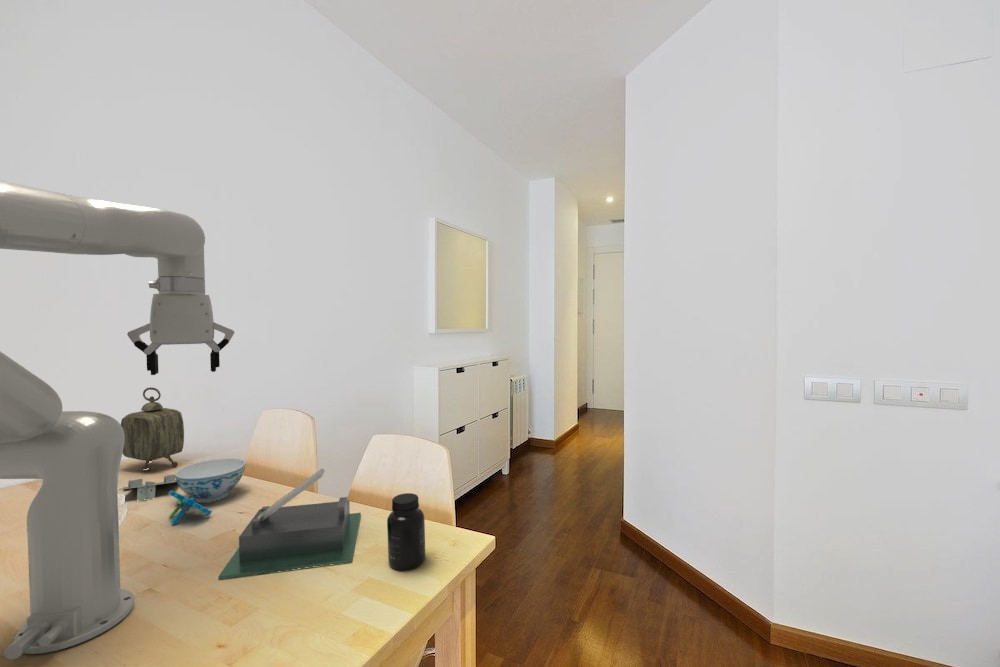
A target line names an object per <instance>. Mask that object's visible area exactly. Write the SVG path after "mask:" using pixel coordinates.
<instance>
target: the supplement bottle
mask: <svg viewBox="0 0 1000 667" xmlns="http://www.w3.org/2000/svg"><path fill="white" fill-rule="evenodd" d="M419 507H420V503H419V495H418V494H415V493H401V494H397V495H396V496H394V497H393V498H392V500H391V512H390V513H389V515H388V516H387V518H386V519H387V520H386V521H387V522H386V530H387V532H386V533H387V534H386V535H387V559H388V564H389V566H390V567H391V568H392V569H393V570H395V571H400V572H401V571H410V570H414V569H416V568H418V567H419V566H421V565H422V564H423V563H424V562H425V559H426V532H425V531H426V529H425V528H426V527H425V526H426V524H425V513H424V511H423V510H422V509H421V508H419Z"/></svg>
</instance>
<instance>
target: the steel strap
mask: <svg viewBox="0 0 1000 667" xmlns="http://www.w3.org/2000/svg"><path fill="white" fill-rule="evenodd" d="M325 471H326V470H324V468H323V467H322V468H321V469H319V470H318V471H316V472H315V473H314V474H312V475H311V476H309V478H307V479H305V480H304V481H303V482H302V483H300V484H299V485H298V486H296V487H295V488H293V489H292V490H291V491H289V492H288V493H286V494H285V495H284V496H282V497H281V498H280V499H278V500H277V501H276V502H273V504H272V505H269V508H267V509H266V510H265V511H263V512H262V513H261V514H260V515H259V517H258V518H261V522H262V521H263V520H264V519H266V518H267V517H269V516H270V515H271V514H273V513H274V512H275V511H277V510H278V509H279V508H281V507H284V506H285V505H287V503H289V502H290V501H291V500H293V499H294V498H296V497H297V496H298V495H300V494H301V493H302V492H304V491H305V490H306V489H308V488H309V487H310V486H312V485H313V484H314V483H316V482H317V481H318V480H320V479H321V478H322V477H323V476H324V473H325ZM258 518H257V519H258Z"/></svg>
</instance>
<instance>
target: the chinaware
mask: <svg viewBox="0 0 1000 667" xmlns="http://www.w3.org/2000/svg"><path fill="white" fill-rule="evenodd" d="M245 469H246V460H244V459H241V458H237V457H235V458H234V457H232V458H231V457H226V458H224V457H223V458H215V459H214V458H213V459H210V460H204V461H199V462H195V463H192V464H191V463H190V464H188V465H185V466H183V467H180V468H179V469H178V470H176V471H175V472H174V475H175V480H176V481H177V482H176V483H177V485H178V487H179V488H180V489H181V491H183V493H185V494H186V495H187V496H190V497H191V498H194V499H196V500H195V502H197V501H198V502H197V503H201V502H206V503H212V501H213V502H217V501H220V500H222V498H223V499H225V498H226V497H228V494H229V492H230V491H232V490H233V489H234V488H235V487H236V486H237V485H238V483H239V482H240V480H241V479H242V477H243V475H244V472H245ZM224 497H225V498H224ZM216 500H217V501H216Z"/></svg>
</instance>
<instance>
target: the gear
mask: <svg viewBox="0 0 1000 667" xmlns="http://www.w3.org/2000/svg"><path fill="white" fill-rule="evenodd" d="M167 494H168V495H169V496H172V497H173V498H175V499H176V502H177V503H176V504H175V509H174V510H173V511H172V512H171V513H170V515H169V516H168V518H171V519H172V521H170V524H172V525H173V526H176V525H177V524H178V522H179V521H180V520H181V519H182V517H183V516H184V514H185V513H188V512H189V511H190V510H191V509H192V508H194V509H196V510H198V511H199V512H202V513H205V514H207V515H208V516H210V515H211V513H213V511H212V510H210V509H209V508H207V507H205V506H203V505H201V504H200V503H199V502H197V501H196V498H194V497H191V498H189V497H186V496H184V495H182V494H180V493H178V492H176V491H174V490H169V492H168V493H167ZM179 510H180V511H179ZM175 515H176V516H175ZM173 517H174V518H173Z"/></svg>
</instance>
